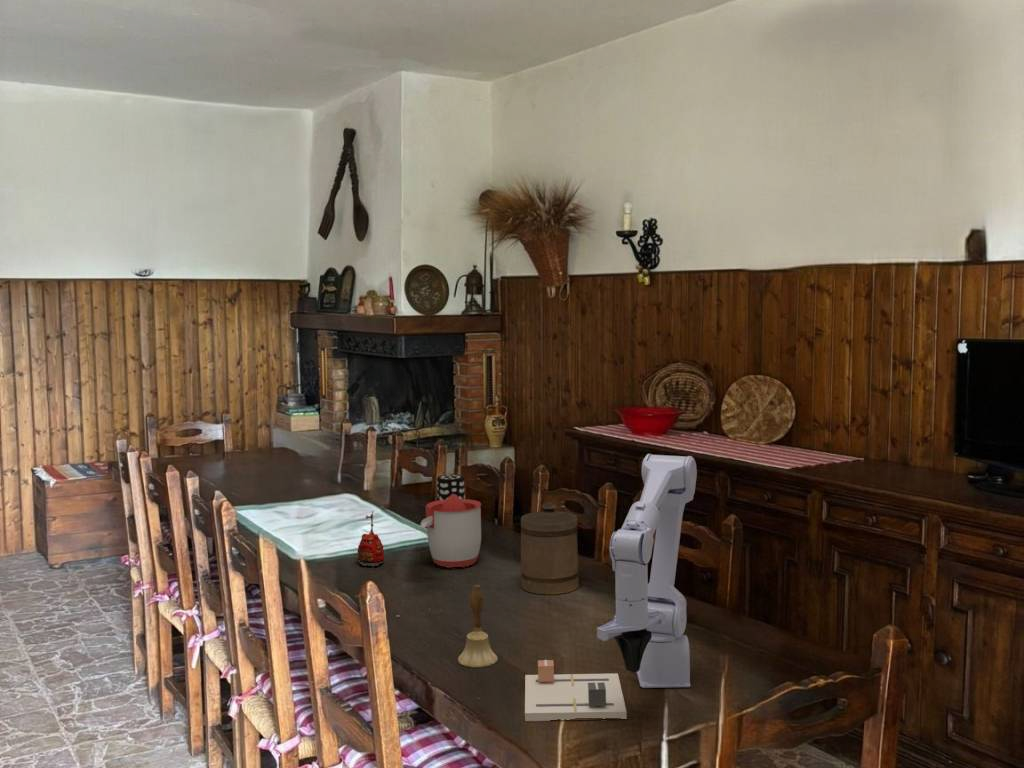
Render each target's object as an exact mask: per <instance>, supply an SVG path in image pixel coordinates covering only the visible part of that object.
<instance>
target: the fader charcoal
mask: <svg viewBox="0 0 1024 768" xmlns="http://www.w3.org/2000/svg"><path fill="white" fill-rule="evenodd" d="M588 701H589V706H606V688H605V683H597V682H595V683H588Z"/></svg>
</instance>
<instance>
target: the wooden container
mask: <svg viewBox="0 0 1024 768" xmlns="http://www.w3.org/2000/svg"><path fill="white" fill-rule="evenodd" d="M541 509H542V511H535V512H530V513H526V514H524V515H522V516H521V517H520V579H521V580H520V581H521V589H523V590H524V591H525V592H527V593H530V594H531V593H532V594H535V595H536V594H537V595H546V596H547V595H549V596H552V595H553V596H554V595H555V596H556V595H564V594H568V593H571V592H574V591H576V590H577V589H578V588H579V587H580V586H579V578H580V577H579V576H580V575H579V550H578V517H577V515H576V514H573V513H570V512H566V511H558V510H557V511H556V510H555V509H556V505H555V503H553V502H552V501H548V502H547V501H546V502H545V503H543V504H542V505H541Z"/></svg>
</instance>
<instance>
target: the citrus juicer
mask: <svg viewBox="0 0 1024 768" xmlns="http://www.w3.org/2000/svg"><path fill="white" fill-rule="evenodd" d="M481 507H482V503H481V502H480V501H479V500H475V499H468V498H465V499H459V498H458V497H457V496H456V495H455V494H452V495H451V496H450V497H449V498H448V499H446V500H439V501H438V500H435V501H431V502H428V503H427V504H426V505H425V518H423V519H422V520H421V522H420V527H421V528H423V529H425V528H427V541H428V546H429V547H428V548H429V550H430V554H431V559H432V561H433V563H434V564H435V563H436V564H438V565H440V566H446V567H462V568H466V567H465V566H467V567H470V566H469V565H472V564H473V565H475V564H476V563H475V562H477V560H478V557H479V553H480V549H481V544H482V543H481V542H482V516H481V515H482V514H481V512H482V509H481ZM474 563H475V564H474ZM473 565H472V566H473Z"/></svg>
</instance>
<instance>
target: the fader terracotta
mask: <svg viewBox="0 0 1024 768" xmlns="http://www.w3.org/2000/svg"><path fill="white" fill-rule="evenodd" d="M554 667H555V663H554V659H550V660H549V659H543V660H542V659H541V660H540V659H539V660H537V675H538V682H550V681H554V675H555V668H554Z"/></svg>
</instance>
